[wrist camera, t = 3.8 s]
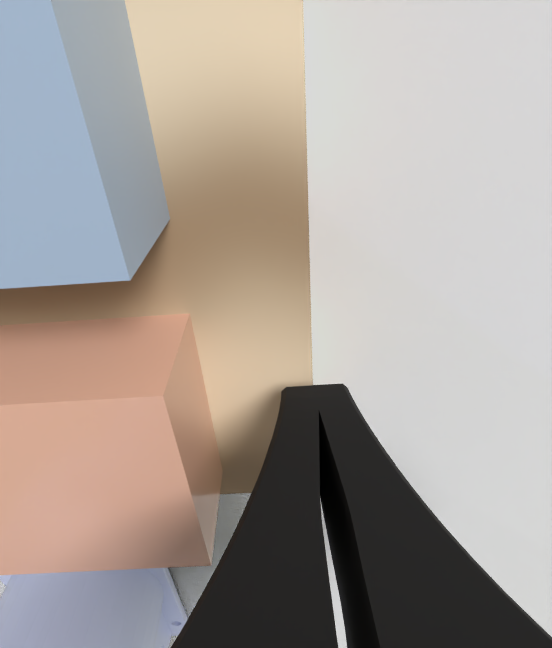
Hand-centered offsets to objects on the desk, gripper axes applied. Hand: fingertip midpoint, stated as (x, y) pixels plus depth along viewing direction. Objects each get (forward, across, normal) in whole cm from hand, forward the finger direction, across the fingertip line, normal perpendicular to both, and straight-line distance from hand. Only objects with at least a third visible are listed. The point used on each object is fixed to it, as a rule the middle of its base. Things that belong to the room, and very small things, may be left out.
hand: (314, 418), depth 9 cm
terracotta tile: (+1, +5, 0) cm, 5 cm away
